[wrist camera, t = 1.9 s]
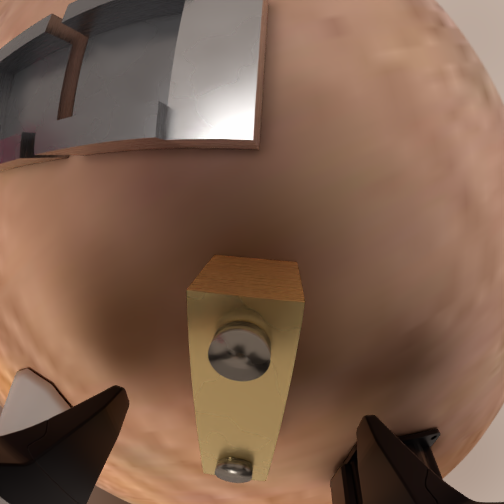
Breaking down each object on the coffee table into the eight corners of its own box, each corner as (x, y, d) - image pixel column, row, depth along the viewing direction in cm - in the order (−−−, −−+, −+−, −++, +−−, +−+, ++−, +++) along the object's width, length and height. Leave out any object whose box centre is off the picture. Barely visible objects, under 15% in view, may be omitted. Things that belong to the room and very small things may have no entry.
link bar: (216, 253, 10) (178, 299, 6) (296, 260, 10) (307, 313, 6) (216, 424, 13) (200, 482, 9) (269, 430, 13) (265, 490, 9)
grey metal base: (268, 4, 7) (264, -42, 4) (259, 149, 9) (250, 136, 6) (9, 75, 8) (-24, 69, 5) (-5, 172, 10) (-41, 177, 7)
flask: (9, 359, 14) (-55, 419, 5) (55, 374, 13) (-23, 462, 4) (46, 419, 16) (-1, 481, 7) (97, 439, 15) (49, 522, 6)
